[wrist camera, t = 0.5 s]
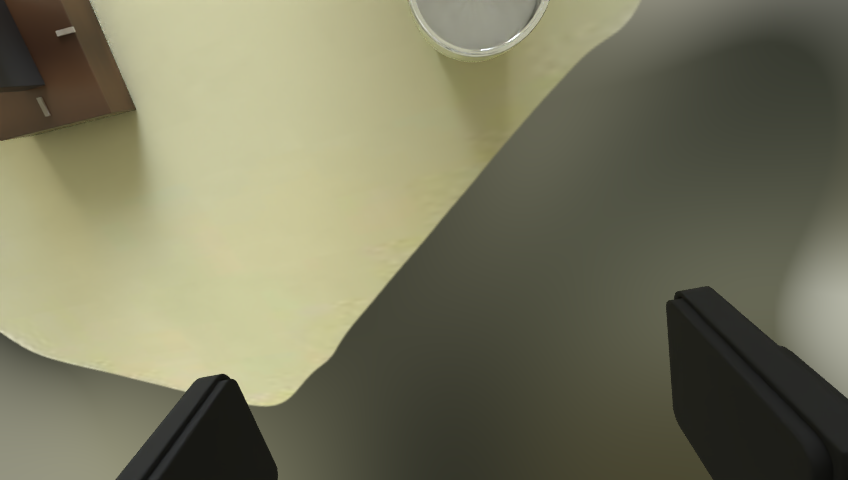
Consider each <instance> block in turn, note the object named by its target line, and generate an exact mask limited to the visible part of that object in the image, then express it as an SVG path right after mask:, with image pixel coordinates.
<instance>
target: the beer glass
mask: <svg viewBox="0 0 848 480" xmlns="http://www.w3.org/2000/svg"><path fill="white" fill-rule="evenodd" d="M549 1H550V0H408V4H409V8H410V12H411V15H412V17H413V20H414V22H415V24H416V26H417V28H418V30H419V32H420V33H421V35H422V36H423V37H424V39H425V40H426V41H427V42H428V43H429V44H430V45H431V46H432V47H433V48H434V49H436V50H437V51H438V52H440V53H441V54H443V55H445V56H447V57H449V58H452V59H454V60H458V61H463V62H481V61H486V60H490V59H493V58H496V57H498V56H500V55H502V54H504V53H506V52H508V51H509V50H511V49H512V48H514V47H515V46H516V45H517V44H518V43H520V42H521V41H522V40H523V39H524V38H525V37H526V36H527V35H528V34H529V33H530V32H531V31H532V30H533V29H534V28H535V26H536V25H537V24H538V22H539V21H540V19H541V18H542V16H543V14H544V12H545V10H546V8H547V6H548V4H549Z"/></svg>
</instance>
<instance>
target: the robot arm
mask: <svg viewBox="0 0 848 480" xmlns="http://www.w3.org/2000/svg"><path fill="white" fill-rule="evenodd" d="M666 312H667V326H668V340H669V356H670V370H671V384H672V398H673V410H674V414H675V417H676V420H677V422H678V424H679V426H680V428H681V429H682V431H683V432H684V434H685V436H686V437H687V439H688V440H689V442H690V444H691V445H692V447H693V448H694V450H695V452H696V453H697V455H698V456H699V458H700V460H701V461H702V463H703V464H704V466H705V467H706V469H707V471H708V472H709V474H710V475H711V477H712V479H713V480H848V399H847V398H846V397H845V396H844V395H843V394H841V393H840V392H839V391H838V390H837V389H835V388H834V387H833V386H832V385H831V384H830V383H828V382H827V381H826V380H825V379H824V378H822V377H821V376H820V375H819V374H818V373H817V372H815V371H814V370H813V369H812V368H810V367H809V366H808V365H807V364H806V363H805V362H804V361H802V360H801V359H800V358H799V357H798V356H796V355H795V354H794V353H793V352H792V351H790V350H788V349H787V348H785V347H783V346H779V345H777V344H776V343H775V342H774V341H773V340H771V339H770V338H769V337H768V336H767V335H765V334H764V333H763V332H762V331H761V330H760V329H759V328H758V327H756V326H755V325H754V324H753V323H752V322H750V321H749V320H748V319H747V318H746V317H745V316H744V315H742V314H741V313H740V312H739V311H738V310H737V309H735V308H734V307H733V306H732V305H731V304H730V303H729V302H727V301H726V300H725V299H724V298H723V297H722V296H720V295H719V294H718V293H717V292H716V291H715V290H713V289H712V288H710V287H709V286H705V287H700V288H694V289H688V290H683V291H678V292H676V293H675V296H674V300H669V301H668V302H667V304H666ZM277 479H278V472H277V466H276V464H275V462H274V460H273V458H272V456H271V453H270V451H269V449H268V447H267V445H266V443H265V441H264V439H263V436H262V434H261V432H260V430H259V428H258V426H257V424H256V421H255V419H254V417H253V415H252V413H251V411H250V409H249V407H248V404H247V402H246V400H245V398H244V396H243V394H242V392H241V390H240V387H239V385H238V383H237V382H236V381H235V380H234V379H230V378H229V377H228V376H227V375H225V374H219V375H214V376H208V377H203V378H199V379H197V380H196V381H195V382H194V383H193V384H192V385H191V386H190V388H189V389H188V390H187V391H186V393H185V394H184V395H183V396H182V398H181V399H180V400H179V401H178V403H177V404H176V405H175V406H174V408H173V409H172V410H171V411H170V413H169V414H168V415H167V416H166V418H165V419H164V420H163V421H162V423H161V424H160V425H159V426H158V428H157V429H156V430H155V432H154V433H153V434H152V435H151V436H150V437H149V439H148V440H147V441H146V442H145V444H144V445H143V446H142V447H141V449H140V450H139V451H138V452H137V454H136V455H135V456H134V457H133V459H132V460H131V461H130V462H129V464H128V465H127V466H126V467H125V469H124V470H123V471H122V472H121V473H120V475H119V476H118V477H117V479H116V480H277Z"/></svg>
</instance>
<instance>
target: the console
mask: <svg viewBox="0 0 848 480" xmlns="http://www.w3.org/2000/svg"><path fill="white" fill-rule="evenodd" d="M4 1H5V3H6V5H7V7H8V9H9V11H10V13H11V15H12V17H13V19H14V22H15V24H16V26H17V28H18V30H19V32H20V34H21V36H22V38H23V40H24V42H25V44H26V46H27V48H28V50H29V52H30V54H31V56H32V58H33V60H34V62H35V64H36V66H37V68H38V70H39V73H40V75H41V77H42V79H43V81H44V83H45V85H44V86H40V87H36V88H33V89H29V90H25V91H16V92H1V93H0V141H4V140H9V139H15V138H21V137H27V136H32V135H36V134H40V133H44V132H48V131H52V130H56V129H60V128H64V127H68V126H72V125H76V124H80V123H84V122H88V121H92V120H96V119H100V118H104V117H108V116H112V115H116V114H120V113H125V112H129V111H133V110H136V108H135V106H134V104H133V101H132V99H131V97H130V94H129V92H128V90H127V87H126V85H125V83H124V80H123V78H122V76H121V73H120V71H119V69H118V66H117V64H116V62H115V60H114V57H113V55H112V53H111V50H110V48H109V46H108V43H107V41H106V39H105V36H104V34H103V32H102V29H101V27H100V25H99V22H98V20H97V18H96V16H95V13H94V11H93V9H92V6H91V4H90V2H89V0H4Z"/></svg>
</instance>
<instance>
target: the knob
mask: <svg viewBox="0 0 848 480" xmlns="http://www.w3.org/2000/svg"><path fill="white" fill-rule="evenodd" d="M44 85H45V83H44V81H43V79H42V77H41V75H40V73H39V70H38V68H37V66H36V64H35V62H34V60H33V58H32V56H31V54H30V52H29V50H28V48H27V46H26V44H25V42H24V40H23V38H22V36H21V34H20V32H19V30H18V28H17V26H16V24H15V22H14V19H13V17H12V15H11V13H10V11H9V9H8V7H7V5H6V3H5V1H4V0H0V93H1V92H16V91H25V90H29V89H33V88H36V87H40V86H44Z"/></svg>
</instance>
